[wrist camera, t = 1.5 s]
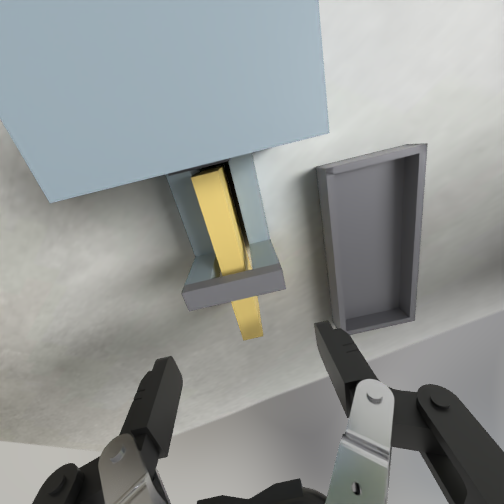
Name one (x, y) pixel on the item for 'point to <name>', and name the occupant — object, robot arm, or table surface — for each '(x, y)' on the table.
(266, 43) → the dispenser
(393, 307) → the tray
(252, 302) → the ticket
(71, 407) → the table surface
